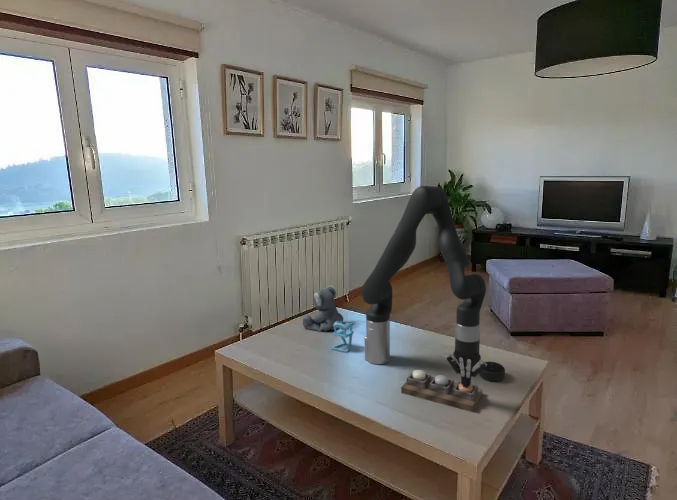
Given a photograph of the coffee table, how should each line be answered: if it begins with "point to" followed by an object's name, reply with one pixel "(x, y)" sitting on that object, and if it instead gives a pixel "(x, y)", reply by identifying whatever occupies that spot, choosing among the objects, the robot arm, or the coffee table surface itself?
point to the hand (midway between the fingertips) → (466, 386)
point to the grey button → (441, 380)
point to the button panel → (442, 392)
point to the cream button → (419, 375)
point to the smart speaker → (493, 372)
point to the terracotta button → (469, 389)
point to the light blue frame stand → (343, 335)
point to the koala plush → (323, 311)
